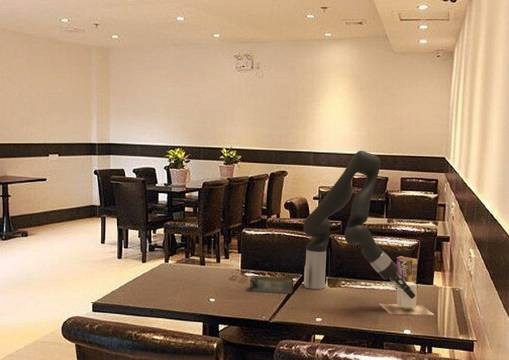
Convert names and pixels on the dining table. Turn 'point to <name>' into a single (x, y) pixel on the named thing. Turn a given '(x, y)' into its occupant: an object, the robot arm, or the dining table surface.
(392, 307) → the board
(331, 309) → the dining table surface
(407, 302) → the white upright block
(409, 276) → the candy box
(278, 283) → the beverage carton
